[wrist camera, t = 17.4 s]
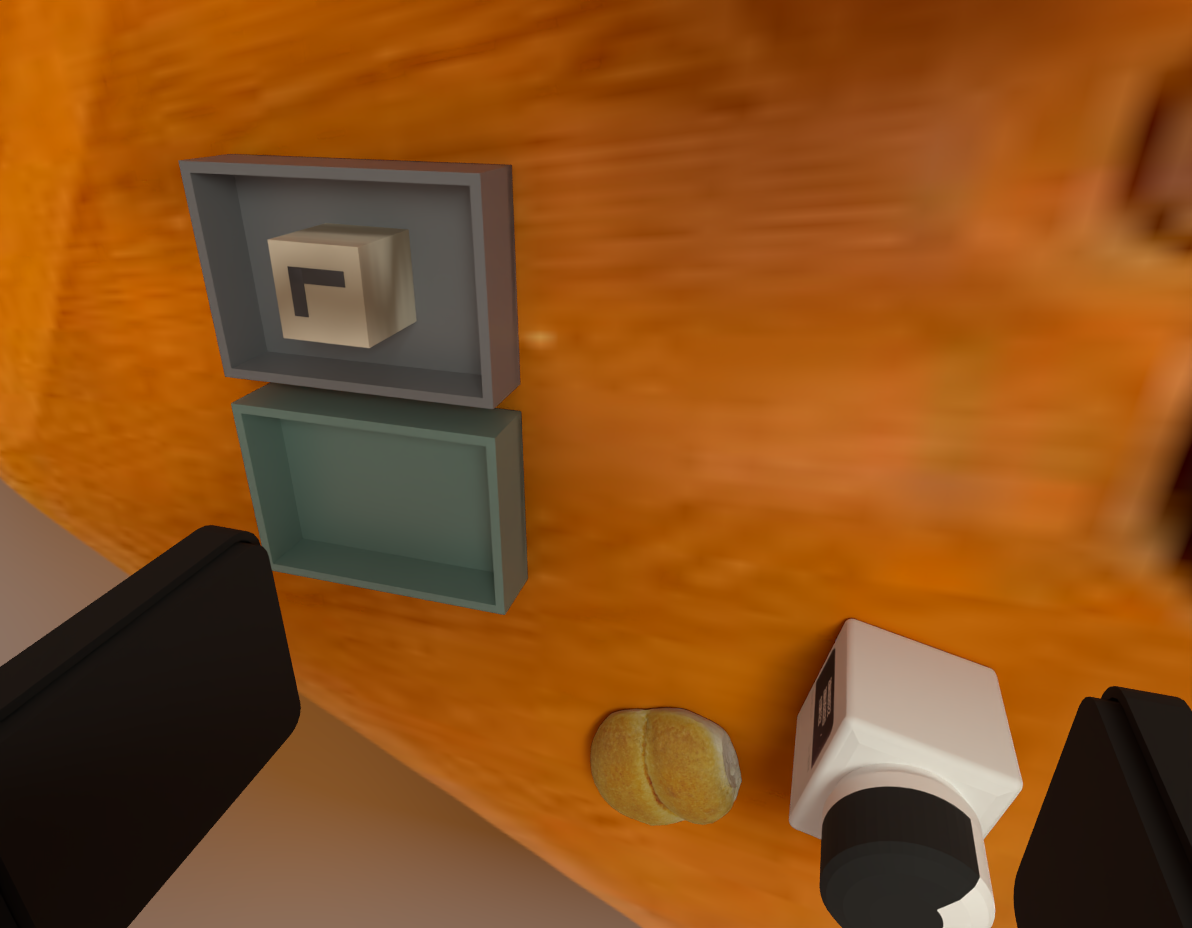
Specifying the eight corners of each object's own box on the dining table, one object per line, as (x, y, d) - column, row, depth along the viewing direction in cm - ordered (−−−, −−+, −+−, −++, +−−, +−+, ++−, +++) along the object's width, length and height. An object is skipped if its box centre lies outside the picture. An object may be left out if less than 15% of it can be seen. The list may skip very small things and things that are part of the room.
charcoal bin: (230, 154, 39) (178, 160, 36) (511, 165, 35) (480, 173, 32) (268, 355, 44) (225, 376, 41) (520, 384, 40) (493, 409, 37)
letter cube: (325, 223, 38) (265, 239, 35) (408, 229, 37) (357, 247, 33) (336, 312, 40) (281, 338, 37) (416, 321, 39) (368, 348, 35)
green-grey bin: (273, 381, 44) (231, 403, 41) (521, 411, 41) (495, 438, 38) (302, 539, 49) (267, 569, 46) (527, 579, 45) (504, 614, 42)
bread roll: (580, 705, 49) (560, 752, 45) (719, 694, 45) (709, 745, 42) (621, 803, 52) (605, 855, 48) (755, 801, 48) (748, 856, 45)
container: (795, 715, 44) (776, 932, 33) (847, 613, 40) (846, 818, 29) (931, 767, 43) (960, 1010, 32) (998, 667, 39) (1057, 903, 28)
